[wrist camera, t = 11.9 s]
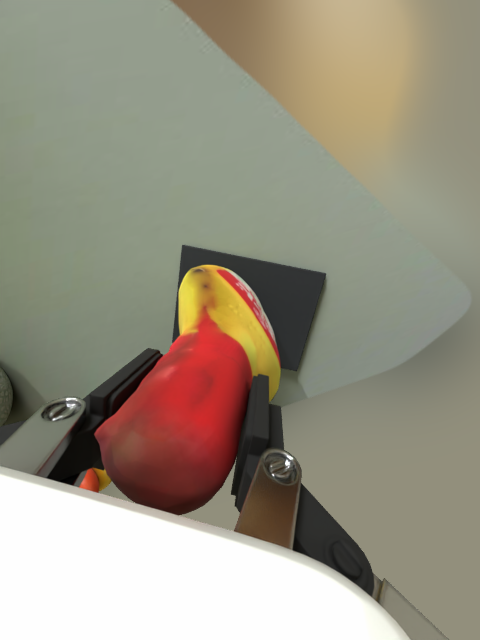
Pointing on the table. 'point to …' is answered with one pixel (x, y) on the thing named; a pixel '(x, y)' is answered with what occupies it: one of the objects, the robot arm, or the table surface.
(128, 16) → the table surface
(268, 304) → the flat black rectangular pad
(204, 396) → the bottle
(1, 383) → the planter
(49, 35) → the table surface
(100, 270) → the table surface
